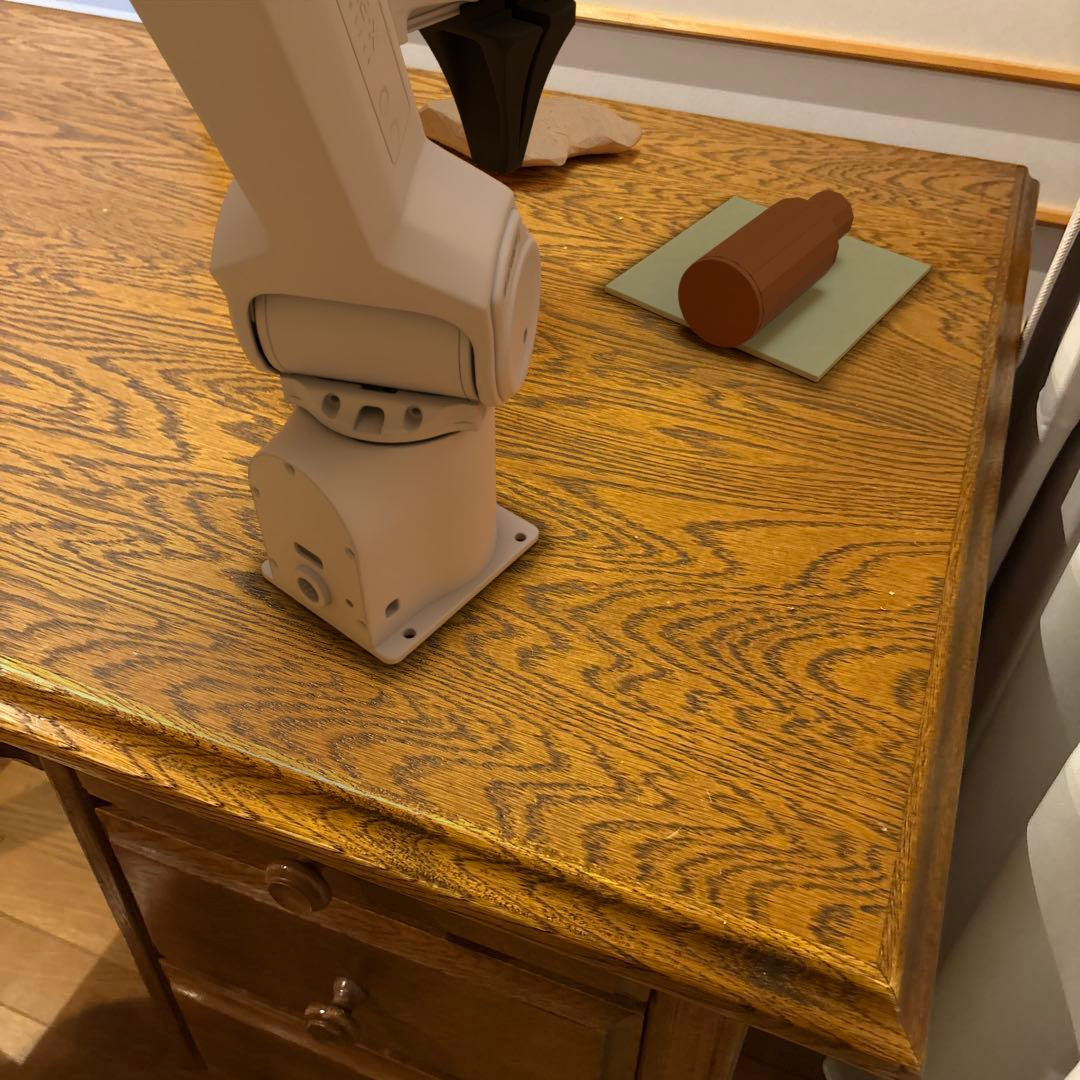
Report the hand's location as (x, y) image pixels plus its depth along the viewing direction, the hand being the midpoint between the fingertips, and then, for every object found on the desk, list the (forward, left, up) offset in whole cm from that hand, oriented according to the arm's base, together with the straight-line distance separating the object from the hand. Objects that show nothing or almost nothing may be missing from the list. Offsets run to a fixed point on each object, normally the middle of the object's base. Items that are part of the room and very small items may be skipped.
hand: (497, 165), depth 47 cm
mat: (+16, -8, -10) cm, 21 cm away
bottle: (+7, -9, -8) cm, 14 cm away
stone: (+21, +15, -11) cm, 28 cm away
